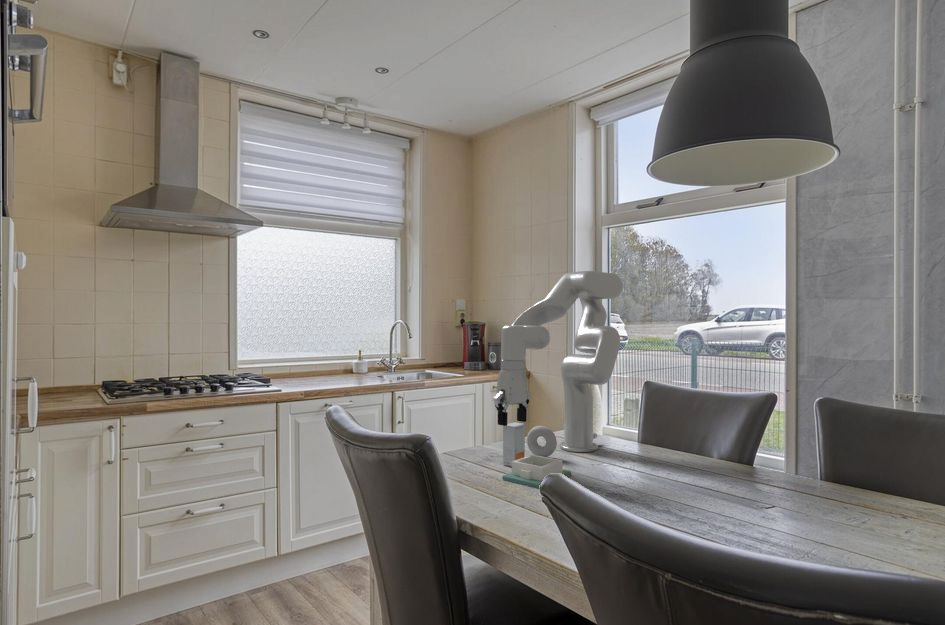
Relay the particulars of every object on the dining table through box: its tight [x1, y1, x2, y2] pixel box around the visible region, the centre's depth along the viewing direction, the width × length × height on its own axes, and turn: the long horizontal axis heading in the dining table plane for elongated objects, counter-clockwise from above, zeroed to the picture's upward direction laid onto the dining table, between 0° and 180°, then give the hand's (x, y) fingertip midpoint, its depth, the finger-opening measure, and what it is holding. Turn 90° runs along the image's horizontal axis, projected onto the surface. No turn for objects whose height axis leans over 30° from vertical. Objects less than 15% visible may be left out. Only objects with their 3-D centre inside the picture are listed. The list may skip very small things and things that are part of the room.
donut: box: [526, 425, 558, 458], centre depth 173 cm, size 10×4×10 cm, turn 61°
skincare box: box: [502, 422, 526, 467], centre depth 166 cm, size 6×4×12 cm
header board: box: [502, 454, 572, 489], centre depth 152 cm, size 16×12×4 cm
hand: (512, 423), depth 165 cm, fingers open, 9 cm apart
